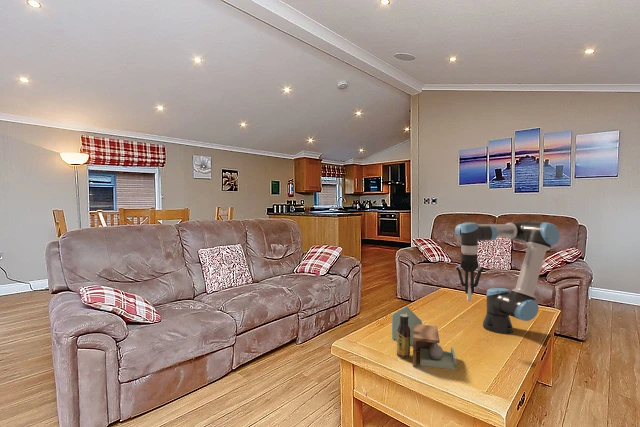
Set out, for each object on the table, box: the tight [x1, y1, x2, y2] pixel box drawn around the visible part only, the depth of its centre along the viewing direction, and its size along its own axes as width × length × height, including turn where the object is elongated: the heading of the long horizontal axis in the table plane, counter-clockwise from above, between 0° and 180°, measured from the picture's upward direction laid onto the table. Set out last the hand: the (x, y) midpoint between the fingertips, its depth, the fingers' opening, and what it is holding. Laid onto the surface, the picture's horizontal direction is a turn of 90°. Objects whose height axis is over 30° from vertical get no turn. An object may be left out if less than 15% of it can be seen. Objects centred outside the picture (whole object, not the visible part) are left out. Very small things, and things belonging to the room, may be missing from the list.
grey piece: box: [391, 305, 423, 347], centre depth 173 cm, size 16×8×20 cm, turn 50°
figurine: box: [429, 343, 444, 360], centre depth 152 cm, size 6×7×8 cm
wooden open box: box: [412, 324, 441, 368], centre depth 153 cm, size 11×17×13 cm, turn 164°
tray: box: [419, 346, 457, 371], centre depth 152 cm, size 15×12×5 cm
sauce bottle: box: [396, 313, 411, 359], centre depth 157 cm, size 7×6×20 cm
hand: (469, 299), depth 166 cm, fingers closed
